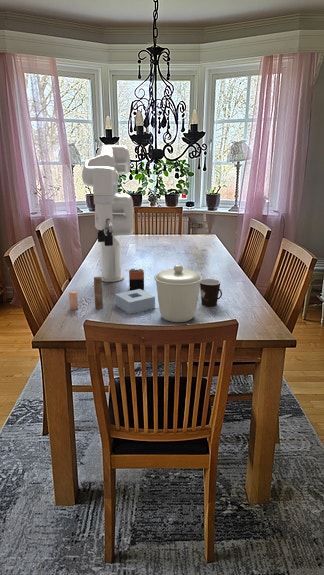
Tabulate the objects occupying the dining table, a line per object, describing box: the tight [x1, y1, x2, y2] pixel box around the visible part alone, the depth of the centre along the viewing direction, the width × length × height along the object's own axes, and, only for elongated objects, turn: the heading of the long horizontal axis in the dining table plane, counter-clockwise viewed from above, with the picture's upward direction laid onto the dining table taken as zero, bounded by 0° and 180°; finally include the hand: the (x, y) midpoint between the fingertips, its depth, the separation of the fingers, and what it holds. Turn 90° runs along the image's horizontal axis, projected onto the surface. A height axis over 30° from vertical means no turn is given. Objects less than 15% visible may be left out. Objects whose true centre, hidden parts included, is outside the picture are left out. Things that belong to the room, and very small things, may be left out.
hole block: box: [114, 289, 156, 315], centre depth 164 cm, size 12×12×5 cm
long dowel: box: [93, 276, 104, 310], centre depth 162 cm, size 3×3×13 cm
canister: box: [154, 264, 203, 323], centre depth 151 cm, size 18×18×21 cm
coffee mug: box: [199, 278, 223, 308], centre depth 165 cm, size 12×9×10 cm
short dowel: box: [68, 290, 79, 311], centre depth 162 cm, size 3×3×7 cm
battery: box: [128, 268, 145, 291], centre depth 185 cm, size 4×7×10 cm, turn 95°
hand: (105, 243), depth 159 cm, fingers open, 9 cm apart
